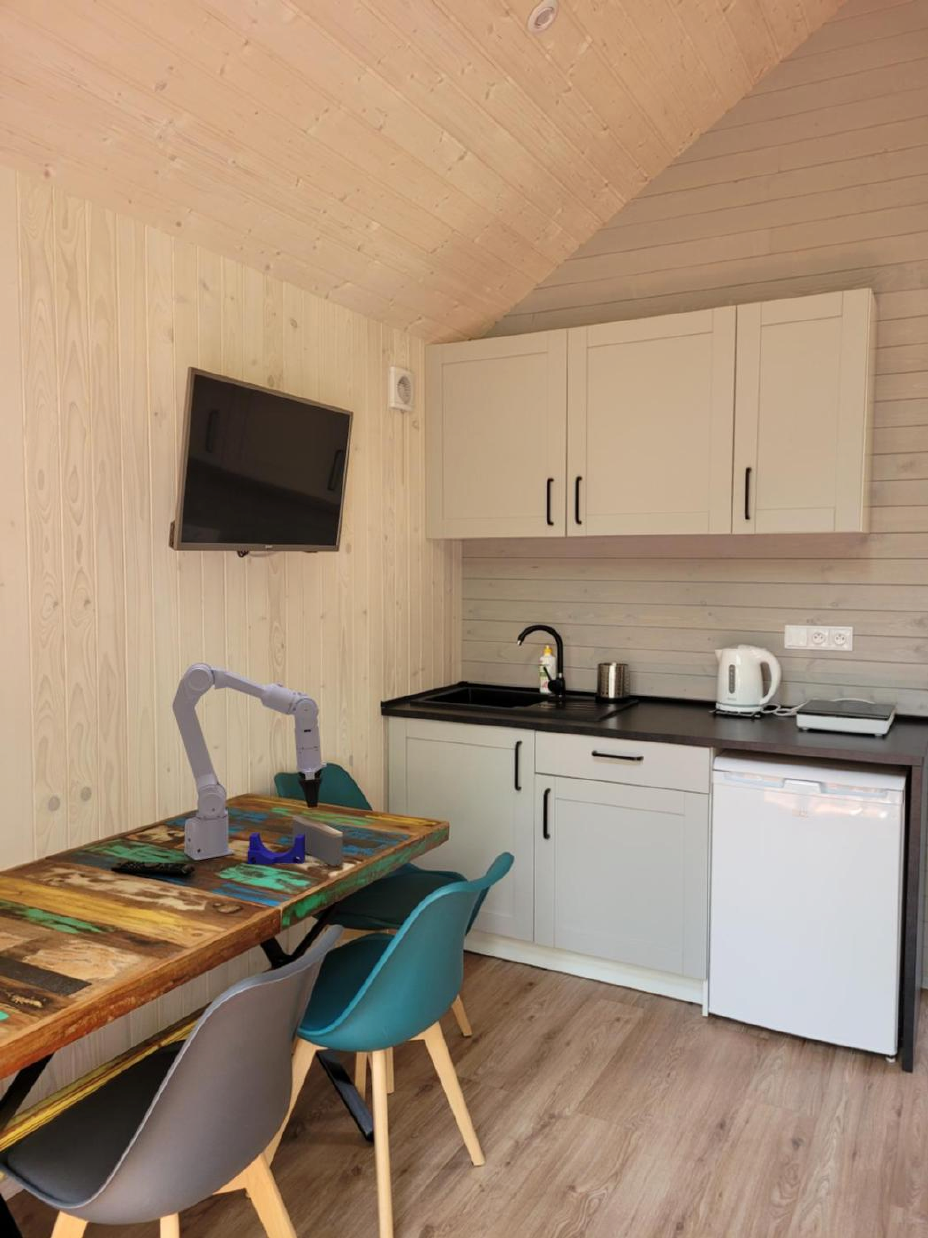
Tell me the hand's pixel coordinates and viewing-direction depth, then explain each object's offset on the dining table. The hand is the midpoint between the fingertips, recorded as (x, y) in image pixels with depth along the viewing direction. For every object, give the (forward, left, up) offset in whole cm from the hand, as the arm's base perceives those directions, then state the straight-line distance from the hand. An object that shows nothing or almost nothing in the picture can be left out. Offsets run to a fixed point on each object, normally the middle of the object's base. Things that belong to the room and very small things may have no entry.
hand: (312, 803), depth 222 cm
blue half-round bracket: (-12, -6, -11) cm, 17 cm away
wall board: (-2, -6, -11) cm, 12 cm away
